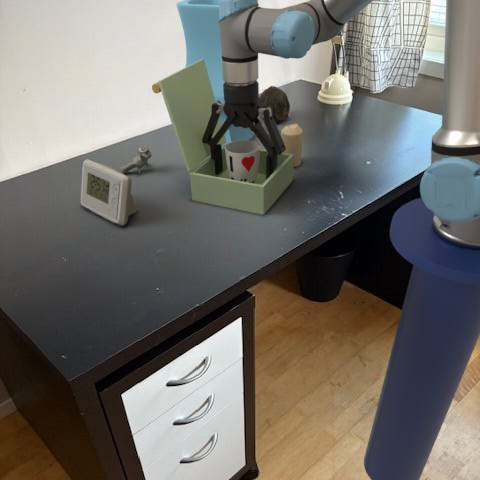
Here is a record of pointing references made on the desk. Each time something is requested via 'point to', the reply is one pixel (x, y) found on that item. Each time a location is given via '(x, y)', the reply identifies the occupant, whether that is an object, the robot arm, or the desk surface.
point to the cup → (243, 160)
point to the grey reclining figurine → (138, 161)
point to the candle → (293, 142)
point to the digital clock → (106, 192)
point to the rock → (275, 102)
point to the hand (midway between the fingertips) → (244, 177)
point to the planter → (208, 51)
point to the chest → (241, 184)
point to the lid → (190, 110)
